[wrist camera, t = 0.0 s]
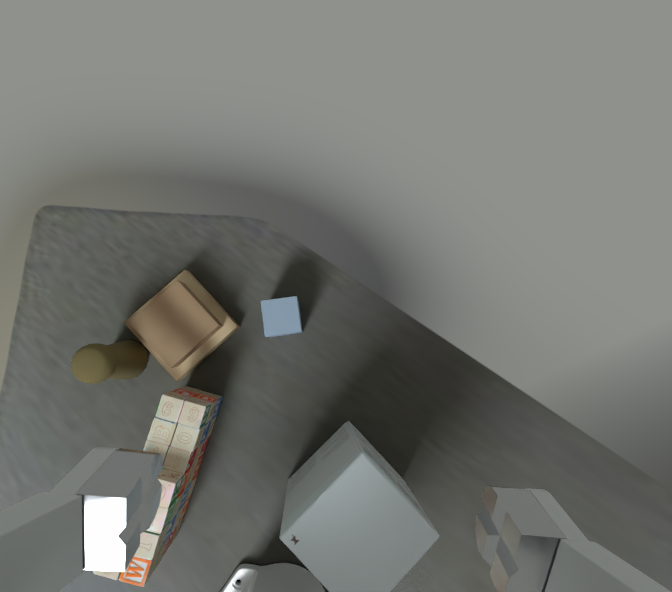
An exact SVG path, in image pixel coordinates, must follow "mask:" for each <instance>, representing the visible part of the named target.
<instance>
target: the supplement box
mask: <svg viewBox="0 0 672 592" xmlns="http://www.w3.org/2000/svg"><path fill="white" fill-rule="evenodd" d="M439 537H440V536H439V534H438V533H437V531H436V530H435V528H434V527H433V525H432V523H431V522H430V520H429V519H428V517H427V516H426V514H425V513H424V511H423V509H422V508H421V506H420V505H419V503H418V502H417V500H416V498H415V497H414V495H413V494H412V492H411V491H410V489H409V488H408V486H407V485H406V483H405V481H404V480H403V479H402V477H401V476H400V475H399V474H398V473H397V472H396V471H395V470H394V469H393V468H392V466H391V465H390V464H389V463H388V462H387V461H386V460H385V459H384V458H383V457H382V456H381V455H380V453H379V452H378V451H377V450H376V449H375V448H374V447H373V446H372V445H371V444H370V443H369V442H368V441H367V440H366V438H365V437H364V436H363V435H362V434H361V433H360V432H359V431H358V430H357V429H356V428H355V427H354V426H353V425H352V424H351V423H350V422H349V421H347V422H345V423H344V424H343V425H342V426H341V427H340V428H339V429H338V430H337V431H336V432H335V433H334V434H333V435H332V436H331V437H330V438H329V439H328V440H327V441H326V442H325V443H324V444H323V445H322V446H321V447H320V448H319V449H318V450H317V451H316V452H315V453H314V454H313V455H312V456H311V457H310V458H309V459H308V460H307V461H306V462H305V463H304V464H303V465H302V466H301V467H300V468H299V469H298V470H297V471H296V472H295V473H294V474H293V475H292V476H291V477H290V478H289V479H288V481H287V488H286V496H285V503H284V510H283V516H282V523H281V531H280V537H279V539H280V540H281V541H282V542H283V543H284V544H285V545H286V546H287V547H288V548H289V549H290V550H291V551H292V552H293V553H294V554H295V555H296V556H297V558H298V559H299V560H300V561H301V562H302V563H303V564H304V565H305V566H306V567H307V568H308V569H309V571H310V572H311V573H312V574H313V575H314V576H315V577H316V578H317V579H318V580H319V581H320V582H321V583H322V585H323V586H324V587H325V588H326V589H327V590H328V591H329V592H390V591H391V590H392V589H393V588H394V587H395V586H396V585H397V584H398V583H399V582H400V580H401V579H402V578H403V577H404V576H405V575H406V574H407V573H408V572H409V570H410V569H411V568H412V567H413V566H414V565H415V564H416V563H417V562H418V560H419V559H420V558H421V557H422V556H423V555H424V554H425V553H426V552H427V550H428V549H429V548H430V547H431V546H432V545H433V544H434V543H435V541H436V540H437V539H438V538H439Z"/></svg>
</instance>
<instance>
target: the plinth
mask: <svg viewBox="0 0 672 592" xmlns="http://www.w3.org/2000/svg"><path fill="white" fill-rule="evenodd" d="M123 323H124V324H125V325H126V326H127V327H128V328H129V329H130V330H131V331H132V332H133V334H134V335H135V336H136V337H137V338H138V339H139V340H140V341H141V342H142V343H143V345H144V346H145V347H146V348H147V349H148V350H149V351H150V352H151V353H152V354H153V356H154V357H155V358H156V359H157V360H158V361H159V362H160V363H161V364H162V365H163V367H164V368H165V369H166V370H167V371H168V372H169V373H170V374H171V375H172V376H173V378H174V379H175V380H176V381H178V380H181V379H183V378H184V377H185V376H186V375H187V374H189V373H190V372H191V371H192V370H193V369H194V368H195V367H196V366H197V365H199V364H200V363H201V362H202V361H203V360H204V359H205V358H206V357H207V356H209V355H210V354H211V353H212V352H213V351H214V350H215V349H216V348H217V347H218V346H220V345H221V344H222V343H223V342H224V341H225V340H226V339H227V338H228V337H230V336H231V335H232V334H233V333H234V332H235V331H236V330H237V329H238V328H239V327H240V326H239V325H238V324H237V322H236V321H235V320H234V319H233V318H232V317H231V316H230V315H229V314H228V313H227V312H226V311H225V309H224V308H223V307H222V306H221V305H220V304H219V303H218V302H217V301H216V300H215V299H214V298H213V296H212V295H211V294H210V293H209V292H208V291H207V290H206V289H205V288H204V287H203V286H202V284H201V283H200V282H199V281H198V280H197V279H196V278H195V277H194V276H193V275H192V274H191V273H190V272H189V271H187V270H184V271H183V272H182V273H180V274H179V275H178V276H177V277H176V278H175V279H174V280H172V281H171V282H170V283H169V284H168V285H167V286H165V287H164V288H163V289H162V290H161V291H160V292H158V293H157V294H156V295H155V296H154V297H153V298H151V299H150V300H149V301H148V302H147V303H146V304H144V305H143V306H142V307H141V308H140V309H139V310H137V311H136V312H135V313H134V314H133V315H132V316H130V317H129V318H128V319H127V320H126V321H125V322H123Z"/></svg>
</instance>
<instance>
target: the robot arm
mask: <svg viewBox="0 0 672 592" xmlns="http://www.w3.org/2000/svg"><path fill="white" fill-rule="evenodd" d="M162 469H163V456H162V455H161V454H160V453H154V452H146V451H138V450H130V449H121V448H120V449H118V448H111V447H102V446H98V447H95V448H93V449H92V450H91V451H90V452H89V453H88V454H87V455H86V456H85V457H84V458H83V459H82V460H81V461H80V462H79V463H78V464H77V465H76V466H75V467H74V468H73V469H72V470H71V471H70V472H69V473H68V474H67V475H66V476H65V477H64V478H63V479H62V480H61V481H60V482H59V483H58V484H57V485H56V486H55V487H54V488H53V489H52V490H51V491H50V492H41V493H38V494H36V495H34V496H32V497H29V498H27V499H25V500H23V501H20V502H18V503H16V504H14V505H11V506H9V507H7V508H5V509H2V510H0V592H58V591H59V590H61V589H62V588H63V587H65V586H66V585H67V584H68V583H70V582H71V581H72V580H74V579H75V578H76V577H77V576H79V575H80V574H81V573H82V572H83V570H96V571H116V572H125V571H126V569H127V567H128V565H129V563H130V562H131V560H132V558H133V556H134V555H135V553H136V551H137V549H138V548H139V546H140V534H141V533H143V532H144V531H146V530H147V529H149V528H150V526H151V524H152V522H153V520H154V518H155V516H156V513H157V510H158V507H159V504H160V499H161V492H162V484H161V483H160V481H159V480H158V478H157V477H158V475H159V474H160V472H161V470H162ZM481 500H482V502H483V504H484V506H485V508H483V509H482V510H481V511H480V512H479V513H478V514H477V518H476V523H475V538H476V542H477V546H478V549H479V551H480V554H481V556H482V558H483V559H485V560H486V561H487V562H488V563H489V564H490V565H491V566H492V568H491V572H490V576H491V578H492V580H493V582H494V585H495V587H496V589H497V591H498V592H671V591H669V590H668V589H666V588H665V587H663V586H662V585H660V584H659V583H657V582H656V581H654V580H652V579H651V578H649V577H648V576H646V575H645V574H643V573H642V572H640V571H639V570H637V569H636V568H634V567H633V566H631V565H629V564H628V563H626V562H625V561H623V560H622V559H620V558H619V557H617V556H616V555H614V554H613V553H611V552H610V551H608V550H606V549H605V548H603V547H602V546H600V545H599V544H597V543H596V542H589V541H588V540H587V539H586V537H585V536H584V535H583V534H582V532H581V531H580V530H579V529H578V527H577V526H576V525H575V524H574V522H573V521H572V520H571V519H570V517H569V516H568V515H567V514H566V513H565V511H564V510H563V509H562V508H561V506H560V505H559V504H558V503H557V501H556V500H555V499H554V498H553V496H552V495H551V494H550V493H549V492H547V491H546V490H543V489H528V488H525V489H519V488H508V487H497V486H486V487H485V489H484V490H483V493H482V497H481ZM238 579H239V580H241V582H240V583H238V582H237V581H236V580H238ZM221 592H325V590H324V588H323V586H322V585H321V583H320V582H319V580H318V579H317V578H316V577H315V576H314V575H313V574H312V573H311V572H309V571H308V570H306V569H305V568H303V567H301V566H298V565H295V564H290V563H276V564H271V565H266V566H258V565H253V564H241V565H239V566H238V567H237V569H236V570H235V571H234V573H233V574H232V576H231V577H230V579H229V580H228V582H227V583H226V585H225V586H224V587H223V589H222V590H221Z"/></svg>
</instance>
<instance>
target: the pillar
mask: <svg viewBox="0 0 672 592" xmlns="http://www.w3.org/2000/svg"><path fill="white" fill-rule="evenodd" d="M261 308H262V316H263V324H264V332H265V337H275V336H282V335H289V334H296V333H303V332H302V324H301V317H300V310H299V302H298V299H297V296H293V297H286V298H279V299H271V300H264V301H261Z"/></svg>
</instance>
